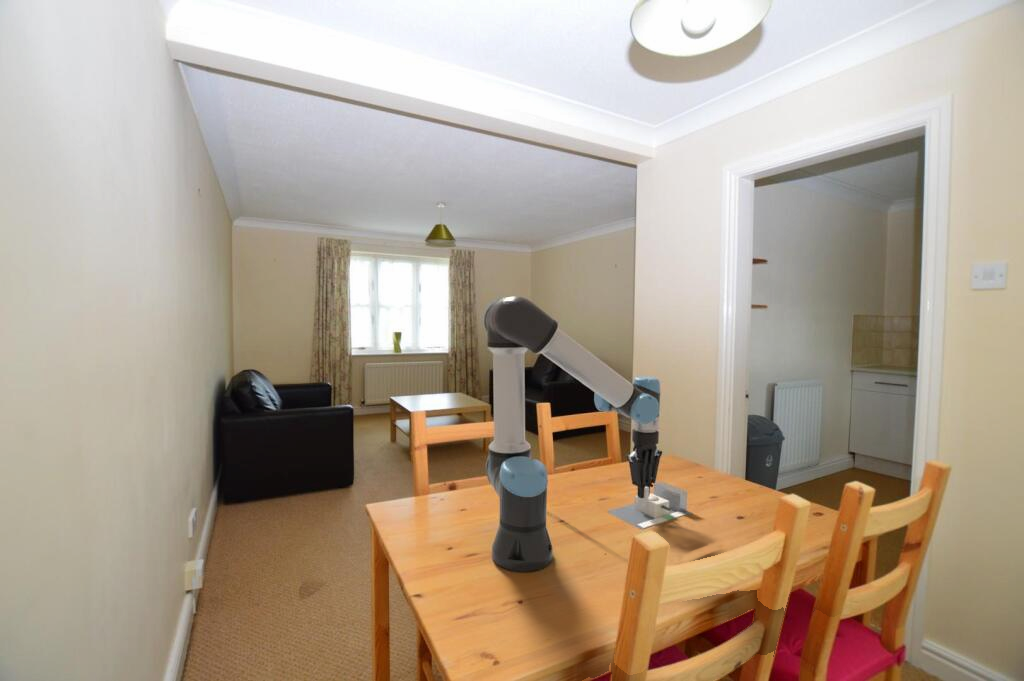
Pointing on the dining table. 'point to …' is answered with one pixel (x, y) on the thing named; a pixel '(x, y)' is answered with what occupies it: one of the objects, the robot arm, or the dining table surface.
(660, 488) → the upright metal panel
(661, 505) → the gauge carriage
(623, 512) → the gauge board
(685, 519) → the dining table surface
